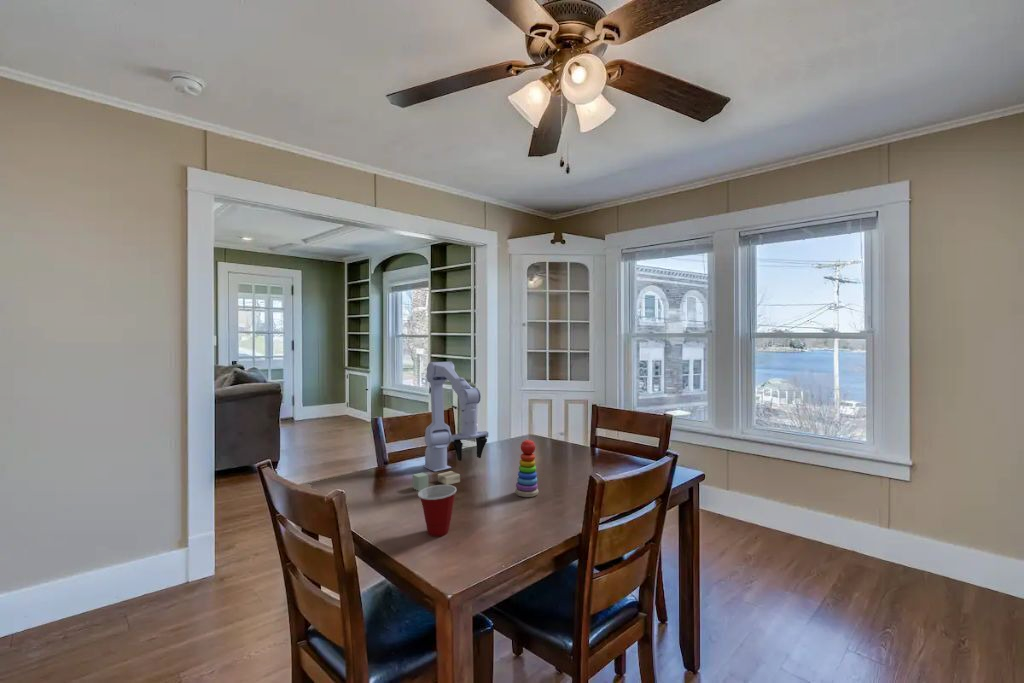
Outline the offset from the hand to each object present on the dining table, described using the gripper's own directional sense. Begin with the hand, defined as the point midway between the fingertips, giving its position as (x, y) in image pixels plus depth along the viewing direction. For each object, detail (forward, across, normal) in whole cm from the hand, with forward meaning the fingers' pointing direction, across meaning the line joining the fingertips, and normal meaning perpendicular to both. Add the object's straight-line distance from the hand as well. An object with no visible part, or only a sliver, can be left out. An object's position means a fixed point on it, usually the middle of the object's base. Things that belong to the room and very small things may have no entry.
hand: (469, 458), depth 169 cm
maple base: (+10, -5, +8) cm, 14 cm away
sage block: (+10, -16, +6) cm, 20 cm away
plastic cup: (+10, -24, -32) cm, 41 cm away
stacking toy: (+10, +14, -17) cm, 25 cm away
